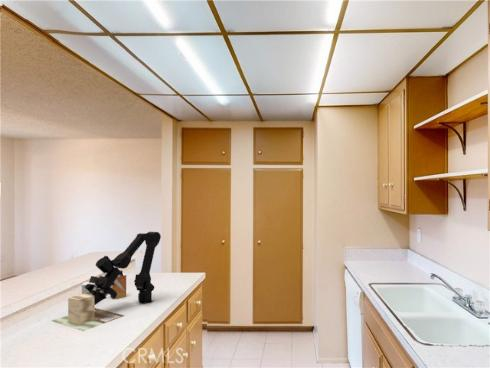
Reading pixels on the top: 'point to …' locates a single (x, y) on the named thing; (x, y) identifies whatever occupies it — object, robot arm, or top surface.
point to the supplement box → (85, 291)
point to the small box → (120, 286)
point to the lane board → (93, 323)
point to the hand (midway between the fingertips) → (89, 306)
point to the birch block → (80, 309)
